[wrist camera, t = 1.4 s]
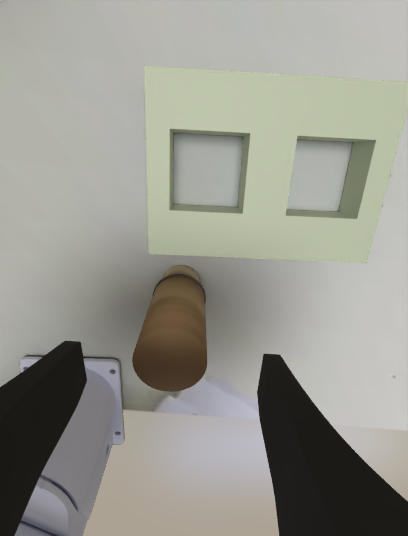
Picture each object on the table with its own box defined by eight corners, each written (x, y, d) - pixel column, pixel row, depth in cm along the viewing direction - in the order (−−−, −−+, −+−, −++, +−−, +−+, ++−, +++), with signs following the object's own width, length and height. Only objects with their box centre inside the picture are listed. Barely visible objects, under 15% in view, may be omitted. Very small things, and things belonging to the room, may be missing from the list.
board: (347, 251, 21) (366, 263, 18) (154, 243, 20) (148, 254, 18) (385, 92, 17) (414, 82, 15) (151, 78, 17) (144, 65, 14)
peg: (203, 304, 22) (206, 393, 14) (158, 302, 22) (132, 391, 14) (206, 261, 21) (210, 331, 12) (158, 259, 21) (129, 328, 12)
